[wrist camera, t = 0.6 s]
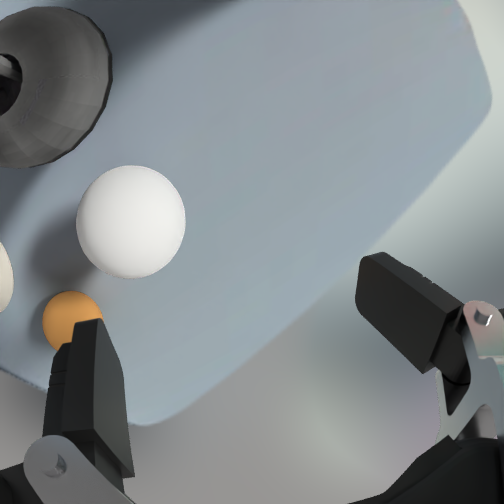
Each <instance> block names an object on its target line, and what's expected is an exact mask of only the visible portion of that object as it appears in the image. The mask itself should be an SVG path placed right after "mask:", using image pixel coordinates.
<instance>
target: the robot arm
mask: <svg viewBox="0 0 504 504" xmlns="http://www.w3.org/2000/svg"><path fill="white" fill-rule="evenodd" d="M355 302H356V306H357V309H358V311H359V312H360V314H361V315H362V316H363V317H364V318H365V319H367V320H368V321H369V322H370V323H371V324H372V325H373V326H374V327H375V328H376V329H377V330H378V331H379V332H380V333H381V334H382V335H383V336H384V337H385V338H386V339H387V340H388V341H389V342H390V343H391V344H392V345H393V346H394V347H395V348H397V350H398V351H400V352H401V353H402V354H403V355H404V356H405V357H406V358H407V359H408V360H409V361H410V362H411V363H412V364H413V365H414V366H415V367H416V368H417V369H418V370H419V371H420V372H421V373H422V374H424V373H425V372H427V371H429V370H430V369H432V368H433V367H437V368H438V370H437V373H436V377H435V378H436V386H437V394H438V403H439V412H440V429H439V432H438V435H437V438H436V442H435V445H434V446H433V447H431V448H430V449H429V450H427V451H426V452H425V453H423V454H422V455H421V456H419V457H418V458H417V459H416V460H415V461H414V462H413V463H412V464H411V465H410V466H409V468H408V469H407V470H406V471H405V472H404V473H403V474H402V475H401V476H400V477H399V478H398V480H396V482H395V483H394V484H393V485H392V486H391V487H390V488H389V489H388V490H386V491H385V492H384V493H382V494H380V495H377V496H374V497H371V498H367V499H364V500H360V501H357V502H353V503H349V504H504V309H499V310H497V309H496V308H495V307H494V306H492V305H490V304H488V303H486V302H483V301H470V302H468V303H466V304H463V303H462V302H460V301H459V300H458V299H456V298H455V297H453V296H452V295H450V294H449V293H448V292H446V291H445V290H443V289H442V288H441V287H439V286H438V285H436V284H435V283H432V281H431V280H429V279H428V278H426V277H423V275H422V274H420V273H419V272H417V271H416V270H414V269H413V268H411V267H408V266H406V265H404V264H402V263H401V262H399V261H398V260H396V259H395V258H393V257H391V256H390V255H388V254H387V253H385V252H380V253H376V254H372V255H369V256H365V257H363V258H362V259H361V261H360V266H359V273H358V281H357V288H356V295H355ZM496 435H497V438H498V439H493V438H494V437H495V436H496ZM130 477H135V473H134V467H133V461H132V455H131V448H130V440H129V432H128V423H127V413H126V402H125V389H124V377H123V371H122V367H121V364H120V361H119V358H118V356H117V353H116V351H115V349H114V346H113V344H112V342H111V339H110V337H109V334H108V332H107V329H106V327H105V324H104V322H103V320H102V319H101V318H96V319H91V320H85V321H80V322H76V323H75V324H74V329H73V334H72V340H71V342H68V343H63V344H62V345H61V347H60V348H59V350H58V351H57V353H56V354H55V356H54V358H53V363H52V368H51V375H50V380H49V388H48V393H47V400H46V407H45V416H44V425H43V435H42V438H40V439H38V440H36V441H35V442H34V443H33V444H32V445H31V446H30V447H29V449H28V450H27V452H26V454H25V457H24V462H23V463H21V464H18V465H15V466H12V467H9V468H7V469H4V470H0V504H136V503H135V502H134V501H133V500H131V499H130V498H129V497H128V496H127V495H126V494H125V492H124V486H123V479H122V478H130Z"/></svg>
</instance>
